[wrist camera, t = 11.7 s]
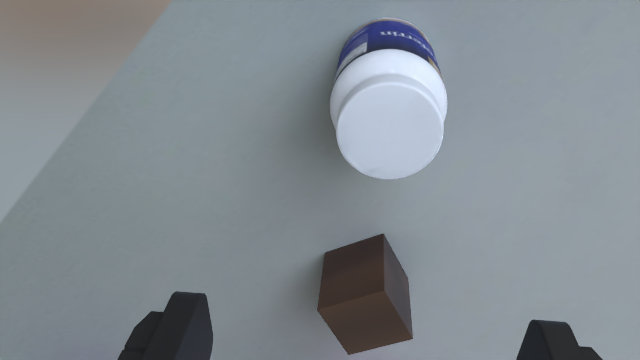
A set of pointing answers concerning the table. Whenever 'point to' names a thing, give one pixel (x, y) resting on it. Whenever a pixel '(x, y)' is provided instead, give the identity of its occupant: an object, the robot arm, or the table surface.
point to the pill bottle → (388, 100)
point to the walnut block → (365, 296)
